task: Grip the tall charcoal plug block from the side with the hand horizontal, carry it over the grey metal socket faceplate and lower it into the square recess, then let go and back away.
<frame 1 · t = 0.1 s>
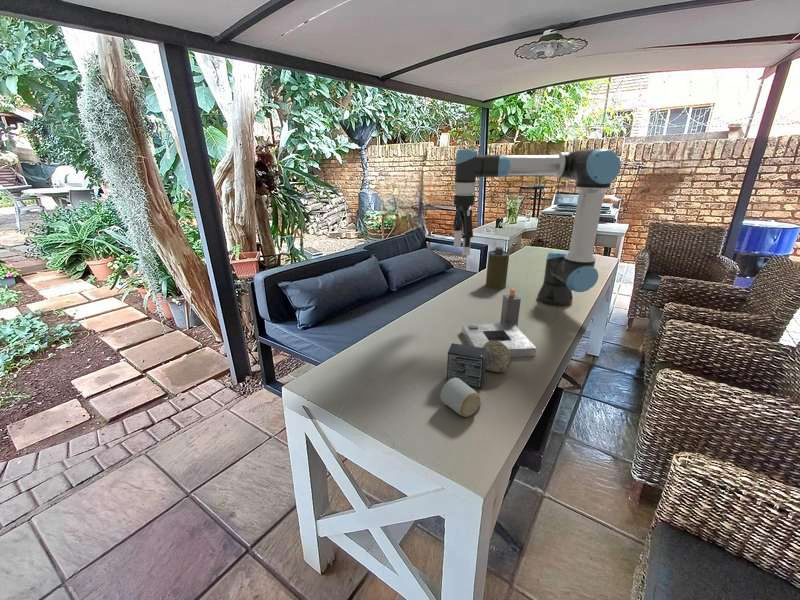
hand: (461, 250, 143), 28 cm above the table, tool pointing down, fingers open, 13 cm apart
white short cylinder: (462, 407, 98), on the table
canister: (495, 286, 190), on the table
small box: (465, 381, 109), on the table
stone: (492, 370, 115), on the table
plug: (508, 325, 145), on the table
socket: (495, 343, 131), on the table
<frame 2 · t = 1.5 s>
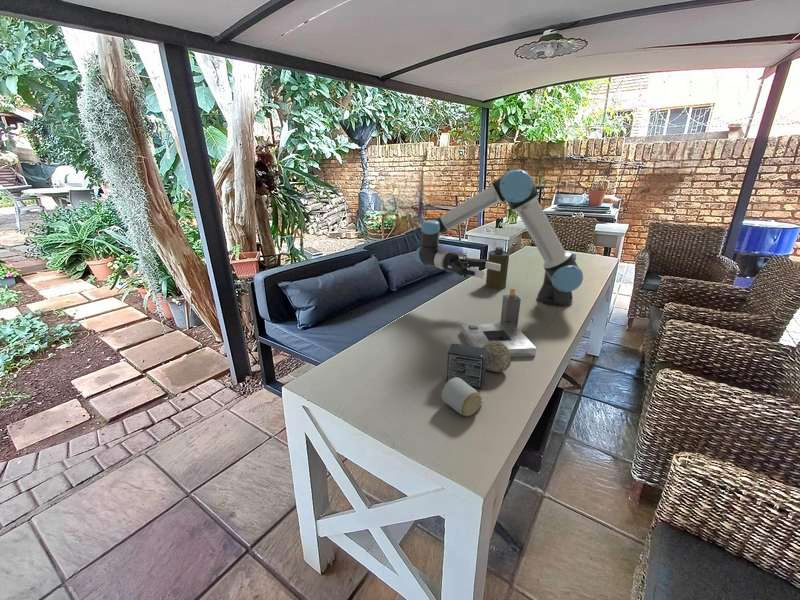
hand: (492, 271, 144), 20 cm above the table, tool horizontal, fingers open, 13 cm apart
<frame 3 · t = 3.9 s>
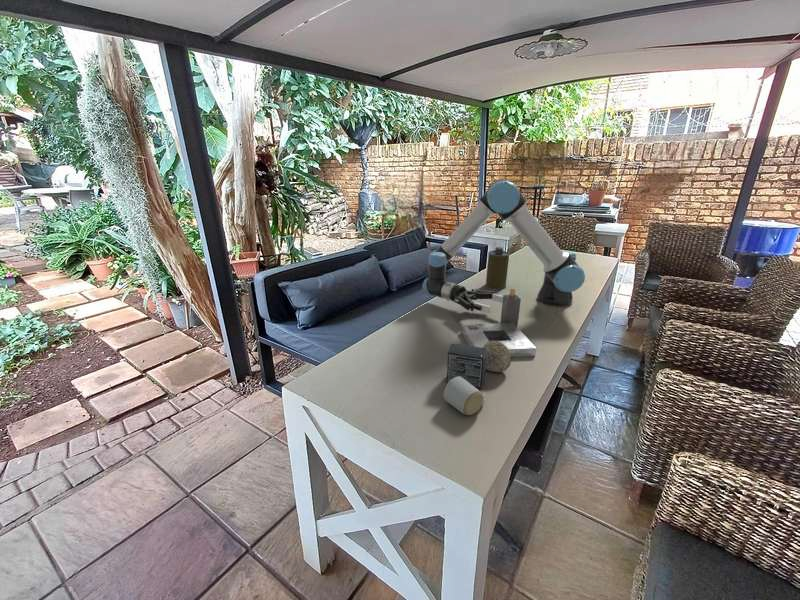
hand: (498, 305, 145), 7 cm above the table, tool horizontal, fingers open, 13 cm apart
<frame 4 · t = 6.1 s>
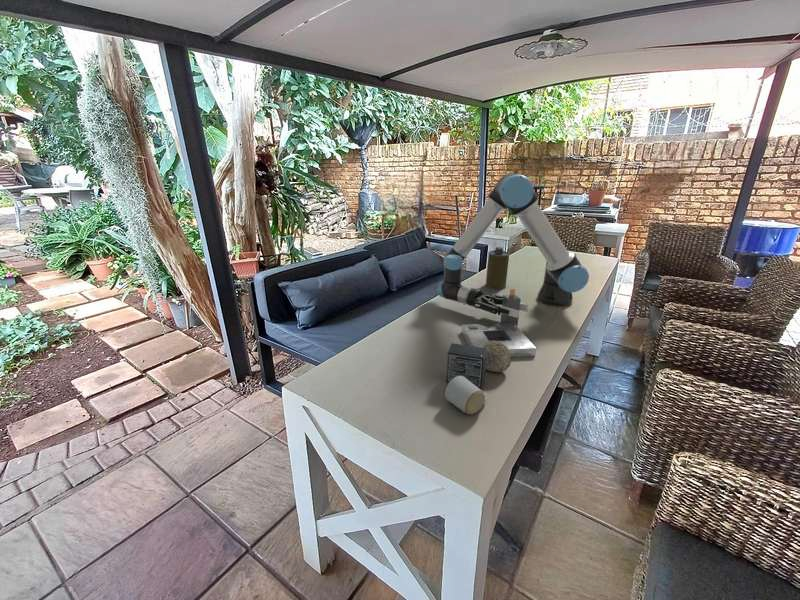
hand: (522, 311, 139), 8 cm above the table, tool horizontal, fingers closed on plug, 7 cm apart
plug: (508, 325, 145), on the table, touching gripper
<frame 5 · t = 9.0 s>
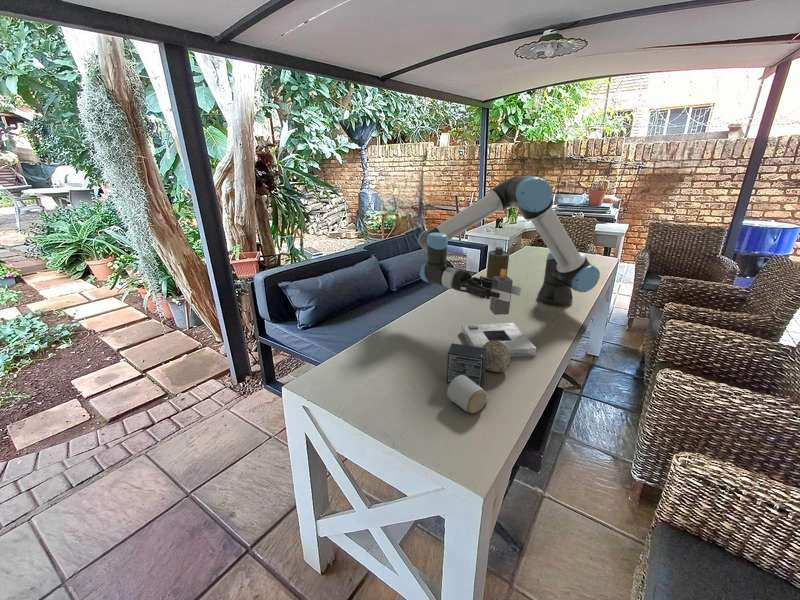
hand: (515, 294, 121), 20 cm above the table, tool horizontal, fingers closed on plug, 7 cm apart
plug: (499, 311, 127), point 12 cm above the table, touching gripper
when the fingers open (9 cm above the table, at t = 11.8 s): plug drops 1 cm, resting on socket.
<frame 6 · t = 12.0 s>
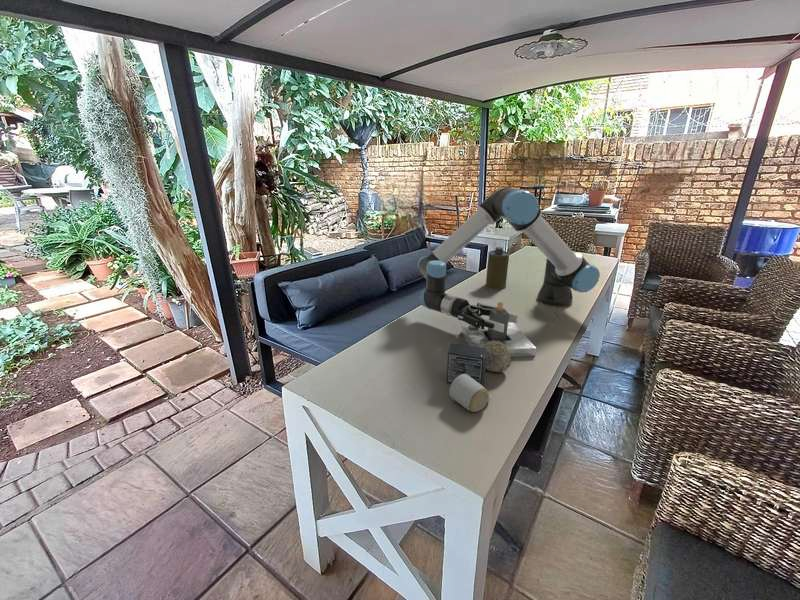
hand: (510, 323, 125), 9 cm above the table, tool horizontal, fingers open, 9 cm apart
plug: (495, 342, 131), resting on socket
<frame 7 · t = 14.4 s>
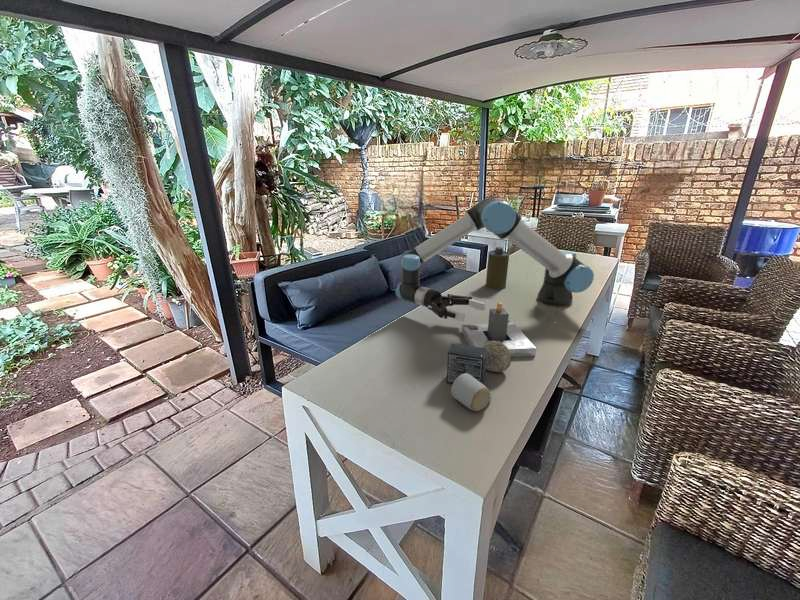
hand: (474, 312, 134), 9 cm above the table, tool horizontal, fingers open, 13 cm apart
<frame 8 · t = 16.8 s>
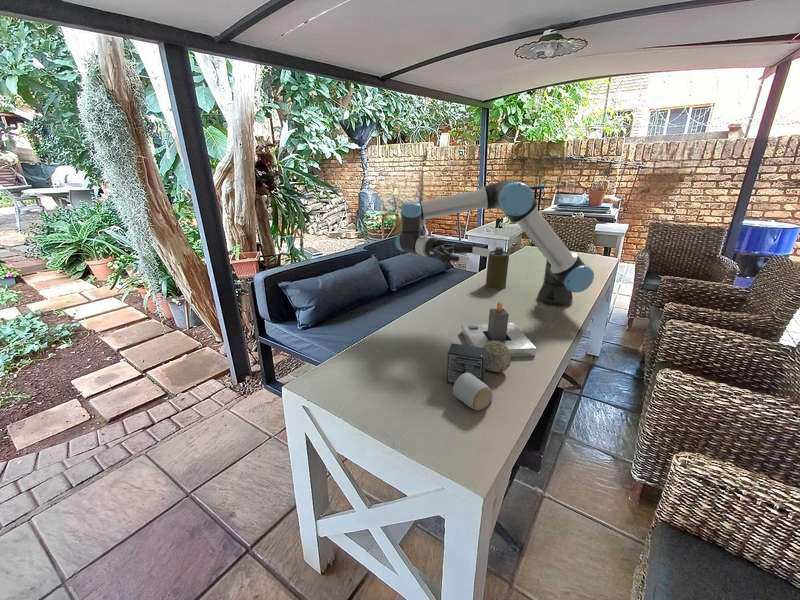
hand: (478, 256, 126), 30 cm above the table, tool horizontal, fingers open, 13 cm apart
at the end: plug 0.1 cm off-centre on the socket, point 0.3 cm above the socket's base; plug tilted 0°; the gripper is holding nothing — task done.
